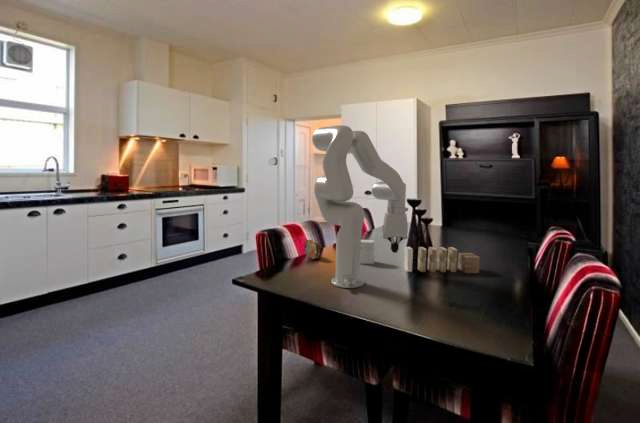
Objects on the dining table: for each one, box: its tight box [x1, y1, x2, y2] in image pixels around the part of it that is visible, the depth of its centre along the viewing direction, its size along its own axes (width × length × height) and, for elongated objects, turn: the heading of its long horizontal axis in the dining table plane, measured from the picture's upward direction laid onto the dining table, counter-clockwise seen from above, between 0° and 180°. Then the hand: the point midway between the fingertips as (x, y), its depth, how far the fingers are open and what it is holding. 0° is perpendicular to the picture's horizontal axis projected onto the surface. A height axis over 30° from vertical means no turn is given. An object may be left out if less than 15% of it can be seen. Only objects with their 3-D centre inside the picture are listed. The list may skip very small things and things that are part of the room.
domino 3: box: [426, 246, 438, 273], centre depth 160 cm, size 2×5×10 cm, turn 2°
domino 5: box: [446, 246, 458, 273], centre depth 161 cm, size 2×5×10 cm, turn 2°
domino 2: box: [417, 246, 428, 273], centre depth 160 cm, size 2×5×10 cm, turn 2°
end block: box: [457, 252, 481, 274], centre depth 161 cm, size 8×6×7 cm
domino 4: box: [436, 246, 448, 273], centre depth 161 cm, size 2×5×10 cm, turn 2°
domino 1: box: [403, 246, 414, 273], centre depth 160 cm, size 2×5×10 cm, turn 3°
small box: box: [360, 239, 375, 265], centre depth 172 cm, size 8×6×10 cm
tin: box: [303, 239, 322, 260], centre depth 181 cm, size 15×3×8 cm, turn 25°
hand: (394, 251), depth 159 cm, fingers closed
